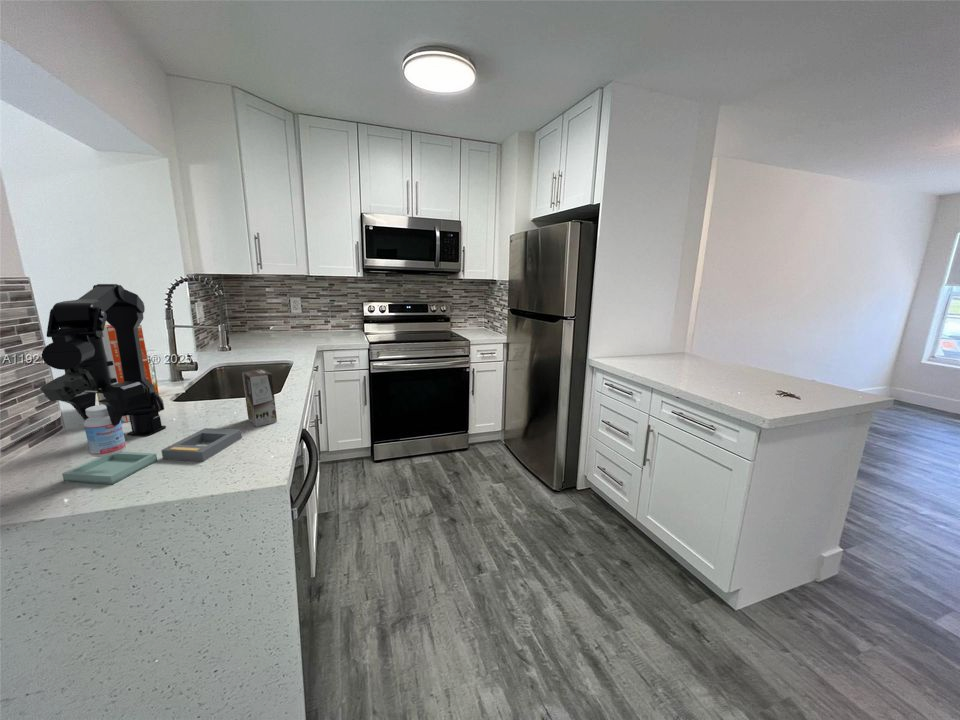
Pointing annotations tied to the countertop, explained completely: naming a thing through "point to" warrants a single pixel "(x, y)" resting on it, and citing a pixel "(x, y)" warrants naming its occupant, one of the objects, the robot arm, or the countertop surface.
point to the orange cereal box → (114, 356)
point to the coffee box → (259, 397)
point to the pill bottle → (103, 433)
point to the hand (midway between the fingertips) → (103, 424)
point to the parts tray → (110, 468)
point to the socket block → (190, 452)
